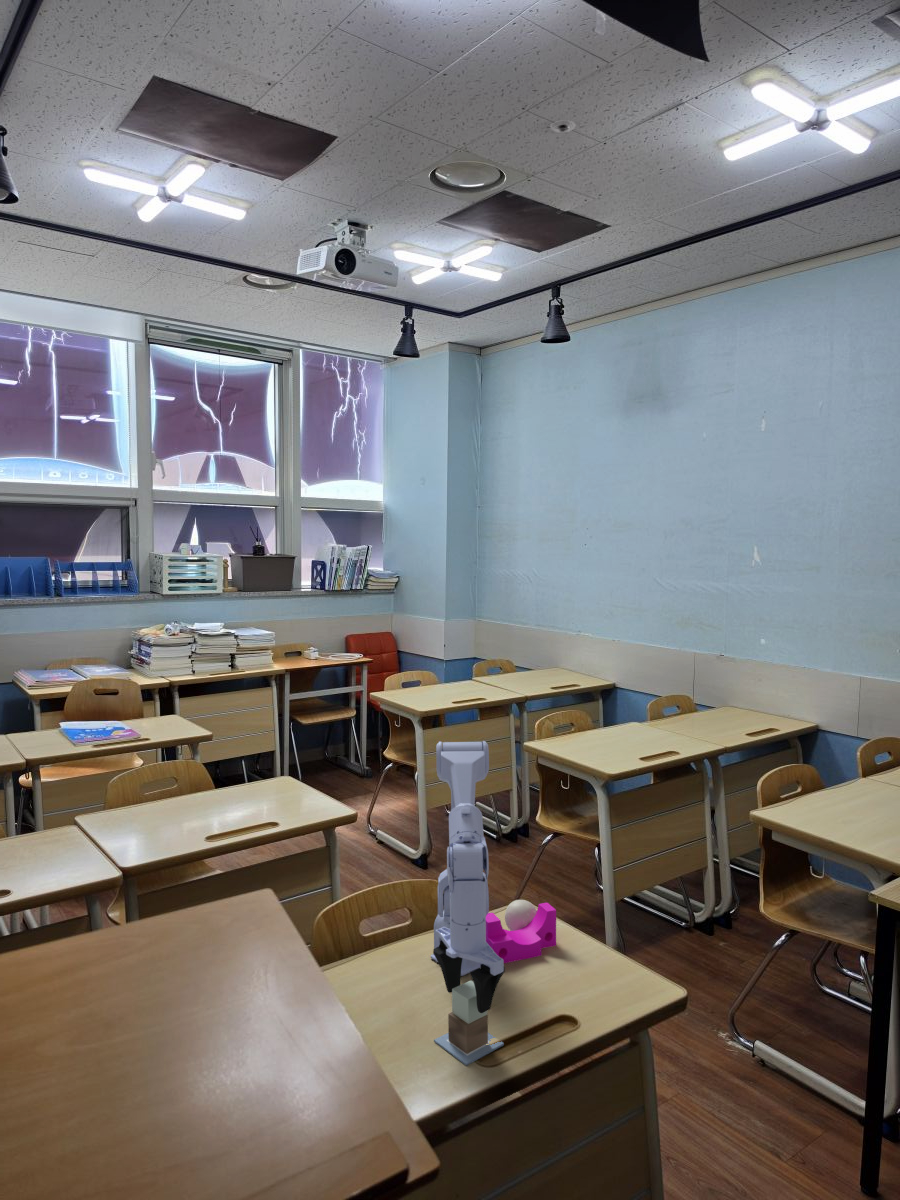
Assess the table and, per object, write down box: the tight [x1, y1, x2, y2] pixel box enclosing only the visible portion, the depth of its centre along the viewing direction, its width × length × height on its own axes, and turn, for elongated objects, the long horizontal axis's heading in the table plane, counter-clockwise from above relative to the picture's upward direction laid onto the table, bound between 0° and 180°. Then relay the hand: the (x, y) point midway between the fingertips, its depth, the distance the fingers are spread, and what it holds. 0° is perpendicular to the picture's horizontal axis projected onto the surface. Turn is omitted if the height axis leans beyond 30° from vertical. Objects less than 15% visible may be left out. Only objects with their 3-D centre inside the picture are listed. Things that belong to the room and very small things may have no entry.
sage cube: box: [451, 980, 488, 1024], centre depth 127 cm, size 4×4×4 cm
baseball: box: [504, 899, 538, 931], centre depth 165 cm, size 7×7×7 cm
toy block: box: [486, 902, 557, 964], centre depth 157 cm, size 15×6×8 cm, turn 111°
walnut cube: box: [447, 1011, 489, 1054], centre depth 127 cm, size 4×4×4 cm
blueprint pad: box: [433, 1032, 505, 1066], centre depth 128 cm, size 8×8×1 cm
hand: (468, 999), depth 127 cm, fingers open, 7 cm apart
